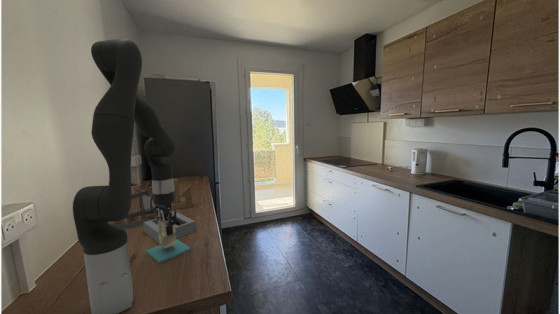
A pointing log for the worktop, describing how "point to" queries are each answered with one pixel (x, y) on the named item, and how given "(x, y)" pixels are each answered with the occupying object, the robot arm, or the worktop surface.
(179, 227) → the open gray rectangular frame
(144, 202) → the coffee pot
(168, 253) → the mat
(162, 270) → the worktop surface
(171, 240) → the birch block
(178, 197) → the wooden block
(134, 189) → the tankard
